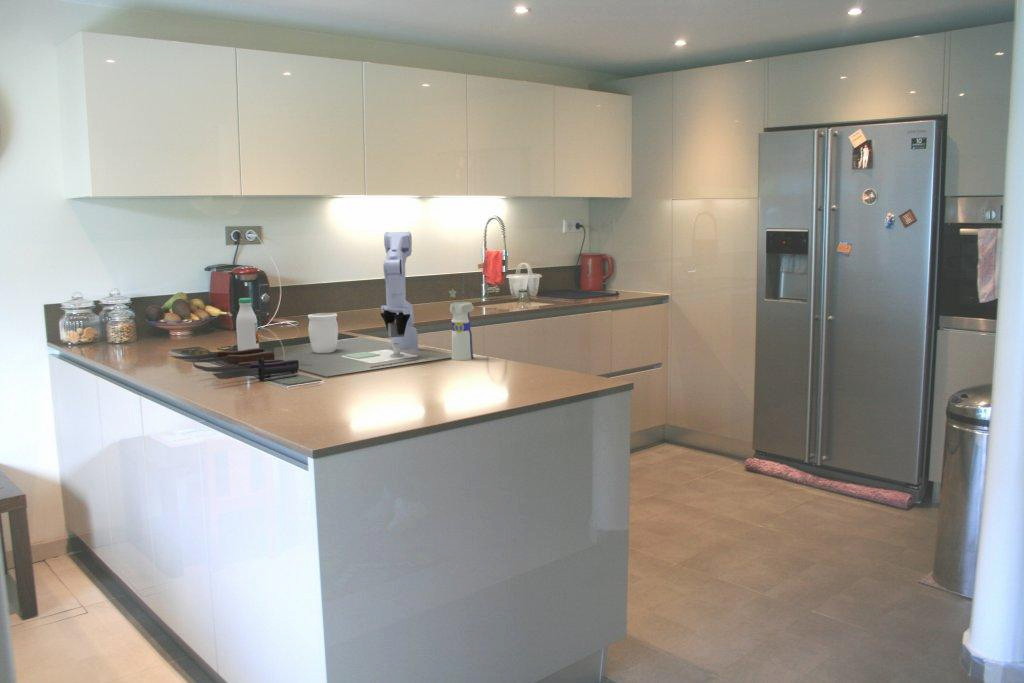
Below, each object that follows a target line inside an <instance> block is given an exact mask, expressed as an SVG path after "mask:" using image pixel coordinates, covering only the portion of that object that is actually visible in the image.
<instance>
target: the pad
mask: <svg viewBox="0 0 1024 683" xmlns="http://www.w3.org/2000/svg"><path fill="white" fill-rule="evenodd" d="M370 352H371V351H362V352H355V353H348V354H343V356H346V357H350V358H355V359H361V358H368V357H375V356H380V355H379V354H375V353H370ZM346 357H345V358H346ZM350 358H349V359H350Z"/></svg>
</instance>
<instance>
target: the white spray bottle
mask: <svg viewBox="0 0 1024 683" xmlns="http://www.w3.org/2000/svg"><path fill="white" fill-rule="evenodd" d="M448 293H450V298H456V294H457V291H455V290H454V288H452V289H451V290H448ZM449 307H450V308H449V311H450V313H451V314H452V319H451V320H450V322H451V326H452V330H451V337H450V339H451V360H453V361H470V360H473V359H474V351H473V349H474V348H473V334H472V331H471V322H472V319H471V317H470V313H471V312H472V311H473V310H474V309H475V307H474V304H473V303H472V302H470V301H469V302H465V301H463V302H461V301H459V302H452V303H450V306H449Z"/></svg>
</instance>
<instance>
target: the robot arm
mask: <svg viewBox="0 0 1024 683" xmlns="http://www.w3.org/2000/svg"><path fill="white" fill-rule="evenodd" d="M412 238H413V237H412V232H410V231H392V232H390V231H385V232H384V234H383V243H384V248H385V253H386V257H385V258H386V259H385V261H383V264H382V266H383V268H382V270H383V275H384V281H385V298H386V301H385V304H386V305H385V304H383V305H380V308H381V312H380V316H381V318H382V319H383V322H384V324H385V328H386V330H387V332H388V323H394V321H396V323H397V330H398V335H402V334H404V337H390V343H391V349H393V343H400V350H405V349H408V350H412V351H420V348H419V337H418V336H419V335H418V330H417V329H416V327H415V326H414V323H415V317H414V316H415V315H414V314H415V313H414V307H413V304H412V303H410V302H409V301H407V300H406V298H407V296H406V295H407V294H406V290H407V289H406V263H407V258H408V257H410V256H411V255H412V251H413V250H412V249H413V246H412V244H413V240H412Z"/></svg>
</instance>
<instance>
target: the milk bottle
mask: <svg viewBox="0 0 1024 683" xmlns="http://www.w3.org/2000/svg"><path fill="white" fill-rule="evenodd" d="M252 302H253V301H252V297H241V298H239V299H238V305H239V310H238V313H237V315H236V320H235V321H236V322H235V327H236V340H237V342H236V344H237V351H241V350H247V349H254V348H260V340H259V329H258V328H259V325H258V319H257V316H256V313H255V311H254V310H253V308H252V307H253V306H252Z"/></svg>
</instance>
